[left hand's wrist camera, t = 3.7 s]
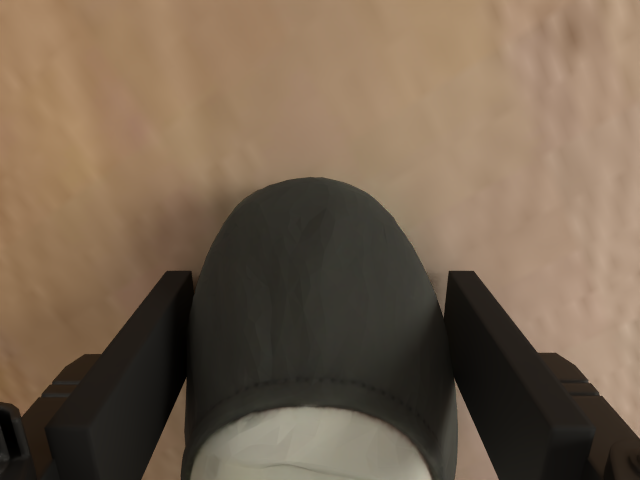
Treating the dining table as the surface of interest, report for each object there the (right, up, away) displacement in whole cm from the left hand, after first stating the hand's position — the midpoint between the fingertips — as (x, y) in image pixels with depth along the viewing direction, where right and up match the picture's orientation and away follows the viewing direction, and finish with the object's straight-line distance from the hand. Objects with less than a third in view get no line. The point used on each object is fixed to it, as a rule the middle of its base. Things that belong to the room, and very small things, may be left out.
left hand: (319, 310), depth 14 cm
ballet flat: (0, -7, +3) cm, 8 cm away
